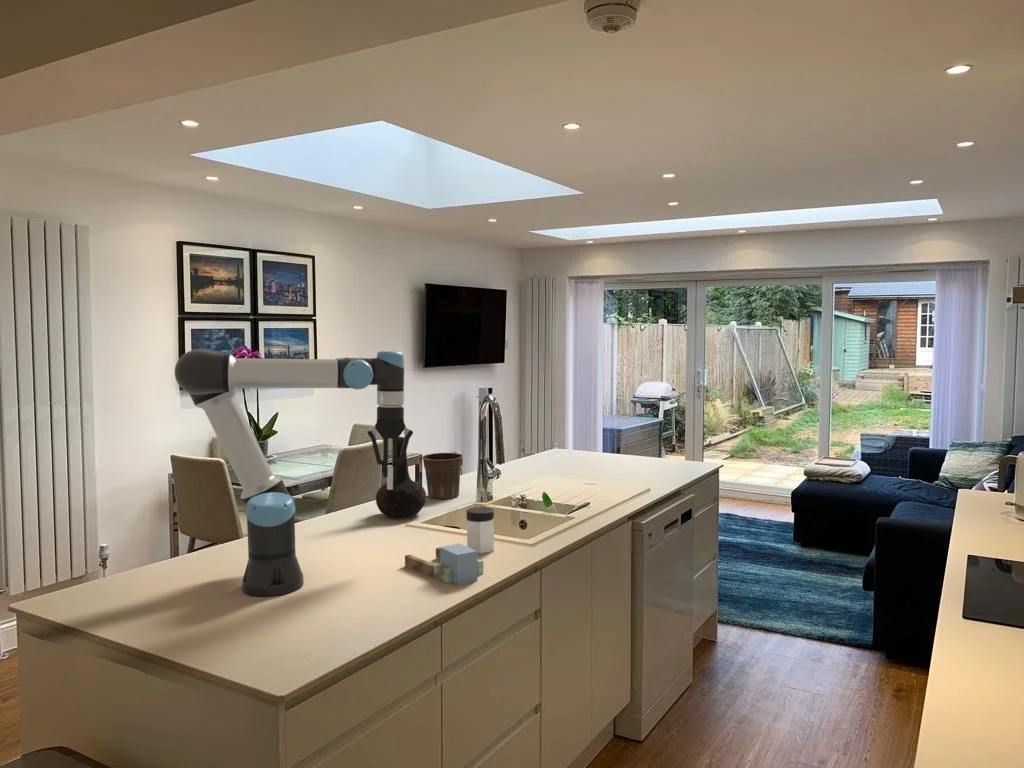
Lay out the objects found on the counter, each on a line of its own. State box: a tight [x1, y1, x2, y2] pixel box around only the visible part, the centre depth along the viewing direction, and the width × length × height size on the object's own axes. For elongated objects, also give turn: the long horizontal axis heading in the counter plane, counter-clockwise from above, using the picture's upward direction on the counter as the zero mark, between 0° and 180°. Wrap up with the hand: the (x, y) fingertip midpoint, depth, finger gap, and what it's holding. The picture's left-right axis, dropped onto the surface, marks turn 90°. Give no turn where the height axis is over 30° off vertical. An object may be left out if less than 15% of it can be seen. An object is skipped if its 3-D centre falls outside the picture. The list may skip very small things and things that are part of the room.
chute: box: [404, 546, 484, 584], centre depth 210 cm, size 20×12×4 cm, turn 41°
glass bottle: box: [375, 436, 427, 519], centre depth 271 cm, size 18×18×28 cm
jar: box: [466, 506, 495, 555], centre depth 229 cm, size 9×8×12 cm
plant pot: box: [421, 452, 464, 500], centre depth 303 cm, size 16×16×16 cm
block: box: [439, 543, 478, 586], centre depth 202 cm, size 9×6×8 cm, turn 35°
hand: (389, 488), depth 218 cm, fingers closed
